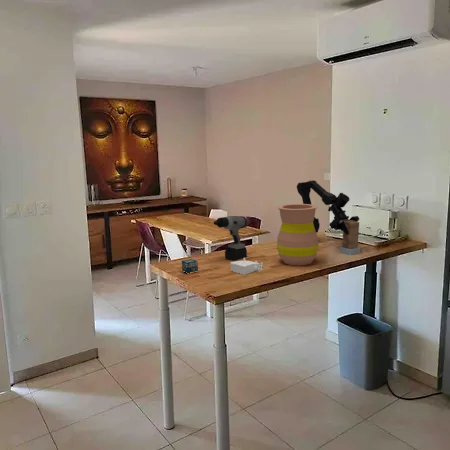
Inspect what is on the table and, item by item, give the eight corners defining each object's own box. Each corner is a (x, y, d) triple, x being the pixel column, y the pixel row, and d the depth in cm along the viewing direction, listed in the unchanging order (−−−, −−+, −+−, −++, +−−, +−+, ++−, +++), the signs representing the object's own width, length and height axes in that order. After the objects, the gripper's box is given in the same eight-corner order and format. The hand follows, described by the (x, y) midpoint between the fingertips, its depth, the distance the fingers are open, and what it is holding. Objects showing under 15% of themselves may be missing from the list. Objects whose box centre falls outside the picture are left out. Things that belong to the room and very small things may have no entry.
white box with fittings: (272, 276, 216) (250, 277, 205) (245, 268, 231) (223, 269, 220) (274, 260, 215) (252, 261, 204) (246, 253, 230) (224, 254, 219)
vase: (296, 269, 215) (296, 211, 210) (268, 260, 233) (267, 206, 228) (327, 262, 227) (327, 206, 222) (298, 254, 245) (298, 202, 240)
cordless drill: (211, 263, 233) (209, 218, 229) (240, 253, 251) (239, 212, 246) (221, 265, 228) (219, 219, 223) (250, 255, 246) (249, 213, 241)
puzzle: (198, 272, 217) (197, 260, 216) (188, 274, 214) (187, 263, 213) (192, 269, 222) (191, 258, 221) (182, 271, 219) (181, 260, 218)
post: (342, 246, 245) (343, 221, 242) (349, 245, 248) (351, 220, 245) (349, 249, 240) (351, 223, 237) (357, 247, 243) (359, 222, 240)
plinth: (339, 252, 246) (339, 247, 246) (349, 250, 250) (349, 245, 250) (350, 255, 240) (350, 249, 239) (360, 252, 243) (360, 247, 243)
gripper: (342, 219, 259) (356, 239, 252) (319, 222, 250) (332, 244, 243) (352, 207, 251) (366, 228, 244) (329, 210, 242) (342, 232, 235)
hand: (352, 233), depth 242 cm, fingers closed on post, 6 cm apart
